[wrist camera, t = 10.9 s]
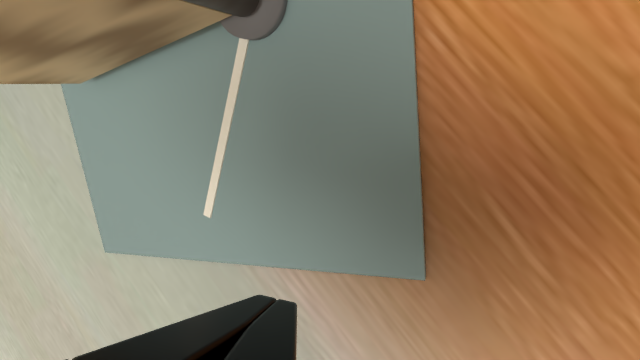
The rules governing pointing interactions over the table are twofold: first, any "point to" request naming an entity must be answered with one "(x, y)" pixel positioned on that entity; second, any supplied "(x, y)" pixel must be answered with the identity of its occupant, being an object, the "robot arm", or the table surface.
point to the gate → (96, 34)
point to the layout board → (264, 142)
